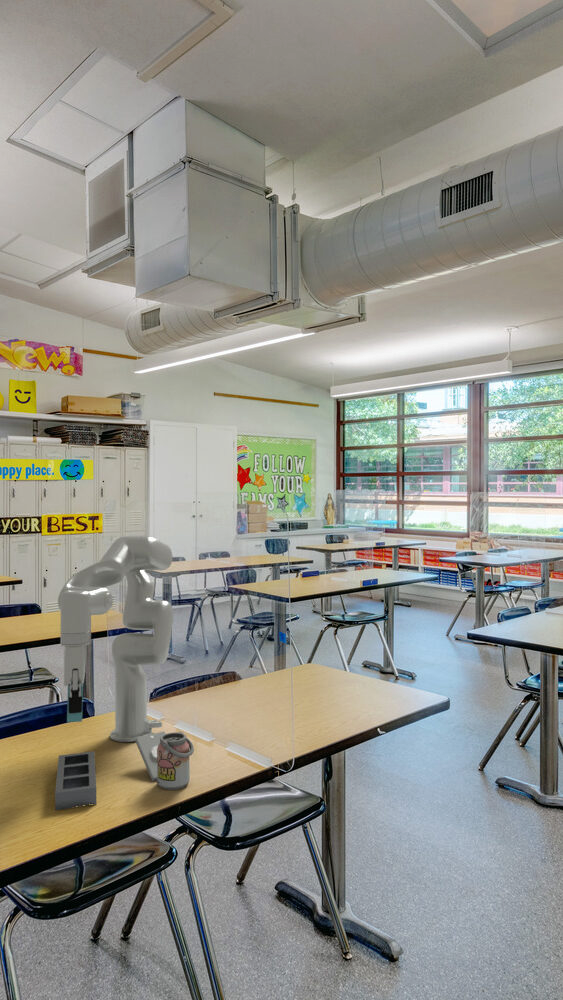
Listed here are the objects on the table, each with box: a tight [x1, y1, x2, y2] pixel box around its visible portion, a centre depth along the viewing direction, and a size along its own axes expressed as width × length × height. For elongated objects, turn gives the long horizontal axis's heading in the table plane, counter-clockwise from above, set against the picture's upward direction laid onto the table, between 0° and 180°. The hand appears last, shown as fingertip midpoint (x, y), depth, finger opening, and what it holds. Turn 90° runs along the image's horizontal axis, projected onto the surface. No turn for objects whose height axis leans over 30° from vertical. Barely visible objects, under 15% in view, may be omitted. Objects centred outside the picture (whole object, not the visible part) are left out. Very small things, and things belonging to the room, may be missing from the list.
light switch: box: [134, 731, 166, 782], centre depth 169 cm, size 8×6×14 cm
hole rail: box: [54, 751, 97, 811], centre depth 159 cm, size 9×24×4 cm, turn 18°
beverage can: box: [156, 731, 195, 791], centre depth 159 cm, size 9×8×12 cm
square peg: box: [66, 683, 84, 723], centre depth 161 cm, size 4×4×9 cm
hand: (75, 709), depth 161 cm, fingers closed on square peg, 3 cm apart
